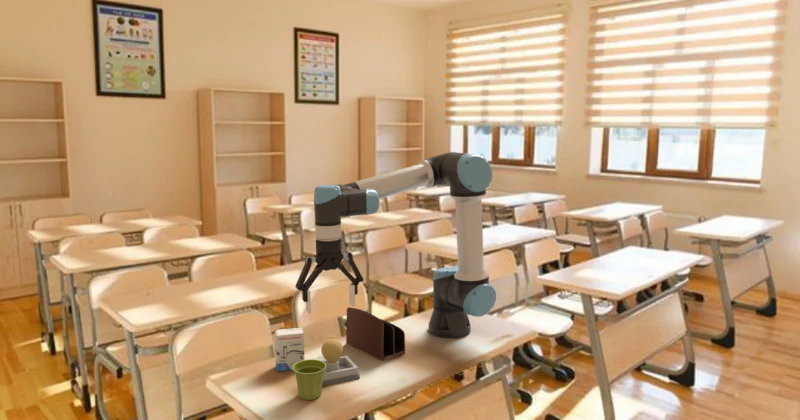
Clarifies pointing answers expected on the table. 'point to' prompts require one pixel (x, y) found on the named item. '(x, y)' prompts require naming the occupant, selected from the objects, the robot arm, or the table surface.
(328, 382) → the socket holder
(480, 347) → the table surface
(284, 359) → the ink box
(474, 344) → the table surface
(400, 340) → the letter holder
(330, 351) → the light bulb
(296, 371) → the plant pot
